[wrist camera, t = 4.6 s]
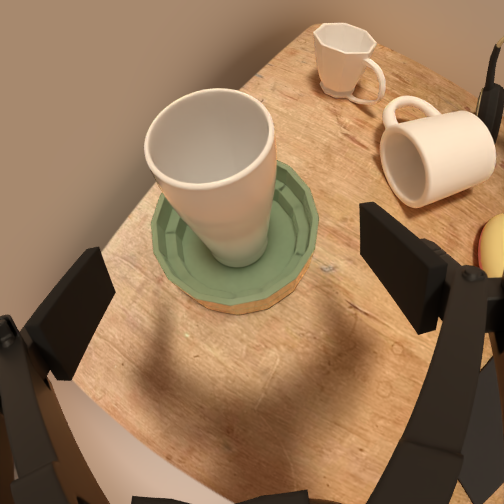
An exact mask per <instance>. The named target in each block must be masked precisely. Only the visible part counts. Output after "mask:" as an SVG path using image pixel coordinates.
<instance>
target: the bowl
mask: <svg viewBox="0 0 504 504" xmlns="http://www.w3.org/2000/svg"><path fill="white" fill-rule="evenodd" d="M318 223H319V216H318V213H317V209H316V206H315V203H314V200H313V196H312V193H311V190H310V188H309V187H308V186H307V185H306V184H305V183H304V181H303V180H302V179H301V178H300V177H299V176H298V175H297V173H296V172H295V171H294V170H293V169H292V168H291V167H290V166H288V165H286V164H284V163H282V162H280V161H278V160H277V173H276V184H275V192H274V198H273V204H272V210H271V216H270V222H269V229H268V244H267V247H266V250H265V252H264V253H263V255H262V256H261V257H260V258H259V259H258V260H257V261H256V262H254V263H253V264H251V265H248V266H245V267H239V268H235V267H229V266H226V265H223V264H222V263H220V262H218V261H217V260H216V259H215V258H214V257H213V255H212V254H211V252H210V251H209V249H208V248H207V247H206V246H205V244H204V243H203V242H202V241H201V240H200V239H199V238H198V236H197V235H196V234H195V233H194V232H193V231H192V230H191V229H190V227H189V226H188V225H187V224H186V223H185V222H184V221H183V220H182V219H181V217H180V216H179V215H178V214H177V213H176V211H175V210H174V209H173V207H172V206H171V205H170V203H169V202H168V200H167V199H166V197H165V196H164V194H163V193H161V195H160V197H159V200H158V203H157V206H156V209H155V212H154V215H153V218H152V221H151V230H152V243H153V252H154V255H155V257H156V258H157V260H158V262H159V264H160V266H161V267H162V269H163V271H164V273H165V274H166V276H167V278H168V279H169V280H170V281H171V282H172V283H173V284H175V285H176V286H177V287H178V288H179V289H181V290H182V291H183V292H184V293H186V294H187V295H189V296H190V297H191V298H193V299H194V300H196V301H197V302H198V303H200V304H201V305H203V306H204V307H206V308H207V309H210V310H215V311H220V312H225V313H230V314H235V315H240V314H245V313H250V312H255V311H260V310H265V309H267V308H270V307H271V306H273V305H274V304H276V303H277V302H279V301H280V300H282V299H283V298H284V297H286V296H287V295H289V294H290V293H292V292H293V291H294V289H295V288H296V286H297V285H298V283H299V282H300V280H301V278H302V277H303V275H304V274H305V272H306V271H307V269H308V267H309V264H310V262H311V259H312V256H313V253H314V250H315V244H316V237H317V230H318Z"/></svg>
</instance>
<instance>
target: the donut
mask: <svg viewBox="0 0 504 504" xmlns="http://www.w3.org/2000/svg"><path fill="white" fill-rule="evenodd" d="M478 260H479V266H480V269H482V270H484V271H485V273H486V274H487V276H488V278H494V277H502V275H503V271H504V213H502V214H498V215H496V216H494V217H492V218H491V219H490V220H489V221H488V222H487V223H486V225H485V226H484V228H483V230H482V232H481V235H480V239H479V245H478Z"/></svg>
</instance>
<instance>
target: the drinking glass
mask: <svg viewBox="0 0 504 504" xmlns="http://www.w3.org/2000/svg"><path fill="white" fill-rule="evenodd" d="M144 153H145V158H146V162H147V164H148V166H149V168H150V170H151V172H152V174H153V176H154V178H155V180H156V182H157V184H158V186H159V187H160V189H161V191H162V193H163V194H164V196H165V197H166V199H167V200H168V202H169V203H170V205H171V206H172V207H173V209H174V210H175V211H176V213H177V214H178V215H179V216H180V217H181V219H182V220H183V221H184V222H185V223H186V224H187V225H188V226H189V227H190V229H191V230H192V231H193V232H194V233H195V234H196V235H197V236H198V238H199V239H200V240H201V241H202V242H203V243H204V244H205V246H206V247H207V248H208V249H209V251H210V252H211V254H212V255H213V257H214V258H215V259H216V260H217V261H218V262H220V263H222V264H223V265H226V266H229V267H235V268H239V267H245V266H248V265H251V264H253V263H254V262H256V261H257V260H258V259H259V258H260V257H261V256H262V255H263V253H264V252H265V250H266V247H267V244H268V229H269V222H270V216H271V210H272V204H273V198H274V192H275V184H276V173H277V152H276V139H275V128H274V123H273V119H272V117H271V115H270V113H269V111H268V110H267V108H266V107H265V106H264V105H263V104H262V103H261V102H260V101H258V100H257V99H256V98H254V97H253V96H251V95H249V94H246V93H244V92H241V91H237V90H232V89H223V88H216V89H206V90H201V91H197V92H193V93H191V94H188V95H185V96H183V97H181V98H179V99H177V100H176V101H174V102H172V103H171V104H170V105H168V106H167V107H166V108H165V109H164V110H162V111H161V112H160V113H159V114H158V116H157V117H156V118H155V119H154V121H153V122H152V124H151V125H150V127H149V129H148V132H147V134H146V138H145V143H144Z"/></svg>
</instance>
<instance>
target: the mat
mask: <svg viewBox="0 0 504 504" xmlns="http://www.w3.org/2000/svg"><path fill="white" fill-rule="evenodd" d="M461 454H462V455H464V461H463V464H462V468H461V471H460V474H459V477H458V480H459V481H460V483H461V485H462V486H463V488H464V490H465V491H466V493H467V495H468V496H469V498H470V499H471V501H472V503H473V504H483V503H484V502H485V501H486V500H487V499H488V498H489V497H490V496H491V495H492V494H493V493H494V492H495V491H496V490H497V489H498V488H499V487H500V486H501V485H502V484H503V483H504V437H503V423H502V412H501V403H500V395H499V387H498V380H497V374H496V368H495V362H494V357H492V358H491V359H490V360H489V361H488V363H487V364H486V365H485V366H484V367H483V368H482V370H481V371H480V373H479V379H478V384H477V389H476V394H475V399H474V404H473V408H472V413H471V417H470V421H469V425H468V429H467V433H466V436H465V440H464V443H463V447H462V451H461Z"/></svg>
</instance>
